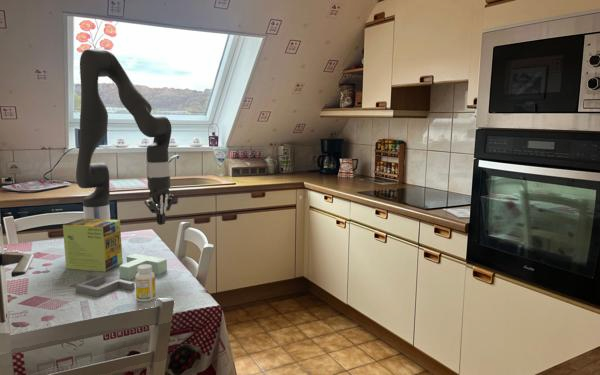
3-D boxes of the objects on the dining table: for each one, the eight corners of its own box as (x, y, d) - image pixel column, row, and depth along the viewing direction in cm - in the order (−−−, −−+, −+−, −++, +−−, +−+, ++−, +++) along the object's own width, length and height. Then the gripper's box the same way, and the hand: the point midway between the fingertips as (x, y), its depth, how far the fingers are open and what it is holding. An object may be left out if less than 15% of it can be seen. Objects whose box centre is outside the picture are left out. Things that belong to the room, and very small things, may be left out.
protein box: (106, 272, 162) (103, 226, 159) (65, 269, 165) (61, 224, 163) (123, 262, 172) (120, 219, 170) (84, 259, 175) (81, 217, 173)
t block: (135, 264, 170) (135, 253, 169) (167, 270, 163) (166, 259, 163) (108, 275, 159) (107, 263, 158) (140, 282, 153) (140, 269, 152)
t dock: (64, 288, 147) (64, 282, 147) (90, 278, 156) (90, 272, 155) (109, 299, 139) (109, 293, 139) (134, 288, 147) (134, 282, 147)
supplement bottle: (143, 303, 136) (141, 270, 135) (132, 298, 140) (130, 266, 138) (159, 297, 140) (158, 266, 139) (149, 293, 144) (147, 262, 142)
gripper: (163, 172, 174) (166, 219, 177) (136, 176, 162) (139, 227, 165) (180, 173, 171) (182, 221, 173) (153, 178, 159) (156, 229, 162)
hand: (161, 224), depth 169 cm, fingers closed
